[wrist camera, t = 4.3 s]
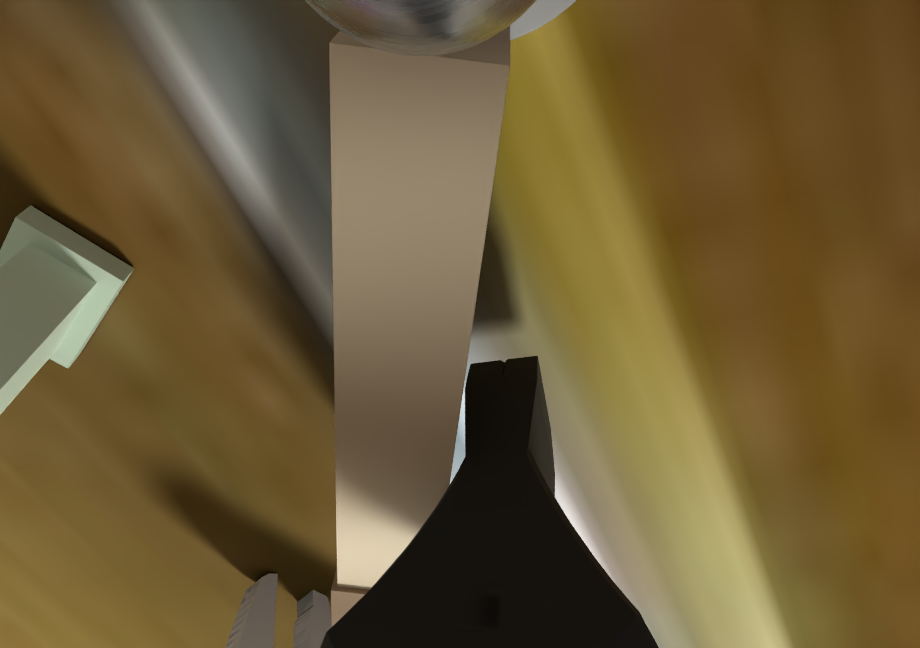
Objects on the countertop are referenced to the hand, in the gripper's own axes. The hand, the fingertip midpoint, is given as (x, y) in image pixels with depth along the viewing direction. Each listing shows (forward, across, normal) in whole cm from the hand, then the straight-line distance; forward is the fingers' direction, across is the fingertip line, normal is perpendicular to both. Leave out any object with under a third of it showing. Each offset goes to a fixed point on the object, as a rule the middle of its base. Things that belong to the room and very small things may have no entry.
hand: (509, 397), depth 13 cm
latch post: (+2, +9, -3) cm, 10 cm away
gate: (+1, +1, -2) cm, 3 cm away
